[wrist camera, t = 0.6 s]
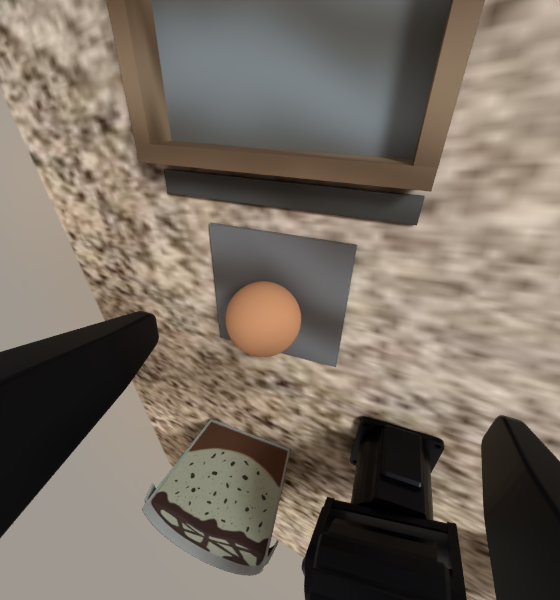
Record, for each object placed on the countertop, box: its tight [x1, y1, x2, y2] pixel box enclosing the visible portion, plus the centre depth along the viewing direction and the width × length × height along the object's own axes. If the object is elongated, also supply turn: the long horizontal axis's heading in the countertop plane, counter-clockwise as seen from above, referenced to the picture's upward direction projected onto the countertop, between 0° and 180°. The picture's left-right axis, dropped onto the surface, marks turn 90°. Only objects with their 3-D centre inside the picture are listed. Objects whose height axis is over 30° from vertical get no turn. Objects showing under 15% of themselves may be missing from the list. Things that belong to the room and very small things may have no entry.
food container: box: [142, 419, 291, 576], centre depth 31 cm, size 12×6×10 cm, turn 85°
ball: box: [226, 281, 301, 357], centre depth 21 cm, size 5×5×5 cm
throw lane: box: [107, 0, 485, 367], centre depth 17 cm, size 28×16×2 cm, turn 178°
